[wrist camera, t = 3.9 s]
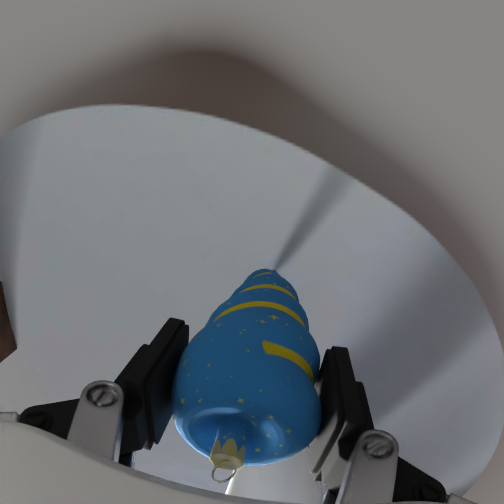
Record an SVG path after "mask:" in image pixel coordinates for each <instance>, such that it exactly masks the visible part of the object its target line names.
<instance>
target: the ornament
mask: <svg viewBox="0 0 504 504" xmlns="http://www.w3.org/2000/svg"><path fill="white" fill-rule="evenodd" d="M319 367H320V355H319V351H318V348H317V345H316V343H315V340H314V339H313V337H312V335H311V334H310V333H309V325H308V319H307V316H306V313H305V311H304V309H303V308H302V306H301V305H300V304H299V300H298V296H297V293H296V291H295V290H294V288H293V287H292V285H291V284H290V283H289V282H287V281H286V280H285V279H284V278H282V277H281V276H280V275H279V274H278V273H277V272H276V271H274V270H269V269H260V270H257V271H255V272H253V273H252V274H251V275H249V276H248V277H247V279H246V280H245V281H244V283H243V284H242V285H241V286H240V287H239V288H238V289H237V290H235V292H234V293H233V294H232V296H231V297H230V298H229V299H228V300H227V301H225V302H224V303H223V304H221V305H220V306H219V307H218V308H217V309H216V310H215V311H214V312H213V314H212V315H211V317H210V319H209V320H208V322H207V324H206V325H205V327H204V328H203V329H202V330H201V331H200V332H198V333H197V334H196V335H195V336H194V337H193V339H192V340H191V341H190V343H189V344H188V345H187V347H186V348H185V350H184V351H183V353H182V355H181V356H180V358H179V361H178V364H177V367H176V370H175V372H174V376H173V381H172V389H171V409H172V415H173V419H174V422H175V425H176V428H177V430H178V431H179V433H180V435H181V436H182V437H183V438H184V440H185V441H186V442H187V443H188V444H189V445H190V446H191V447H192V448H194V449H195V450H197V451H198V452H199V453H201V454H203V455H205V456H207V457H209V458H210V461H211V462H212V463H213V465H215V467H214V468H213V470H212V474H211V475H212V478H213V479H214V480H215V481H217V482H219V483H221V482H226V481H228V480H230V479H231V478H232V477H233V476H234V475H235V473H236V470H237V469H238V468H240V467H242V466H243V465H244V466H257V465H265V464H270V463H274V462H278V461H281V460H284V459H287V458H289V457H291V456H293V455H295V454H297V453H299V452H300V451H302V450H303V449H305V448H306V447H307V446H308V445H309V444H310V443H311V442H312V441H313V440H314V439H315V437H316V436H317V434H318V432H319V429H320V427H321V424H322V406H321V403H320V400H319V397H318V394H317V392H316V389H315V388H314V384H315V382H316V380H317V377H318V374H319ZM217 467H218V468H222V469H226V470H234V473H233V474H232V475H231V476H230V477H229V478H228V479H226V480H223V481H218V480H216V479H215V478H214V476H213V473H214V471H215V469H216V468H217Z"/></svg>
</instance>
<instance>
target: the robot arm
mask: <svg viewBox="0 0 504 504" xmlns="http://www.w3.org/2000/svg"><path fill="white" fill-rule="evenodd" d="M188 343H189V325H185V321H184V320H180V319H175V318H169V319H168V321H167V322H166V323H165V325H164V326H163V327H162V329H161V330H160V331H159V333H158V334H157V335H156V337H155V338H154V339H153V341H152V342H151V343H150V345H147V344H143V345H142V346H141V347H140V348H139V350H138V351H137V352H136V354H135V355H134V356H133V358H132V359H131V360H130V361H129V363H128V364H127V365H126V367H125V368H124V369H123V371H122V372H121V373H120V375H119V376H118V377H117V379H116V380H115V381H114V382H111V381H106V380H100V381H94V382H92V383H90V384H88V385H87V386H86V387H85V388H84V389H83V391H82V394H81V396H80V398H79V399H74V400H68V401H62V402H56V403H50V404H44V405H37V406H32V407H29V408H27V409H25V410H24V411H23V412H22V413H21V415H18V414H17V412H0V504H301V503H287V502H276V501H267V500H259V499H252V498H245V497H239V496H233V495H228V494H222V493H217V492H213V491H208V490H204V489H199V488H195V487H191V486H187V485H183V484H180V483H176V482H173V481H169V480H166V479H162V478H159V477H156V476H153V475H150V474H147V473H144V472H141V471H138V470H135V469H134V465H135V454H136V451H137V450H141V449H142V448H144V449H147V450H151V448H152V445H153V443H154V444H158V443H159V441H160V439H161V437H162V435H163V433H164V431H165V429H166V426H167V424H168V422H169V420H170V418H171V416H172V409H171V389H172V381H173V376H174V372H175V370H176V367H177V364H178V361H179V358H180V356H181V355H182V353H183V351H184V350H185V348H186V347H187V345H188ZM314 388H315V389H316V392H317V394H318V397H319V400H320V403H321V406H322V424H321V427H320V429H319V432H318V434H317V436H316V437H315V439H314V440H313V441H312V442H311V443H310V444H309V461H310V473H314V481H322V483H323V484H324V485H325V486H326V487H327V488H326V491H325V493H324V496H323V499H322V501H321V504H477V503H474V502H472V501H469V500H467V499H465V498H462V497H460V496H458V495H456V494H453V493H451V494H450V495H447V494H446V491H445V488H444V487H443V485H442V484H441V483H440V482H439V481H437V480H436V479H434V478H432V477H431V476H429V475H427V474H426V473H424V472H422V471H421V470H419V469H418V468H416V467H414V466H413V465H411V464H410V463H408V462H406V461H405V460H403V459H402V458H400V457H399V456H398V452H399V447H398V443H397V441H396V439H395V438H394V437H393V436H392V435H390V434H389V433H387V432H385V431H382V430H376V429H374V425H373V421H372V417H371V413H370V409H369V405H368V401H367V397H366V393H365V389H364V385H363V383H362V382H357V381H355V377H354V373H353V369H352V365H351V361H350V357H349V353H348V349H347V348H345V347H336V346H333V347H332V348H331V350H330V349H327V350H326V352H325V355H324V358H323V362H322V365H321V368H320V371H319V374H318V377H317V380H316V383H315V386H314Z"/></svg>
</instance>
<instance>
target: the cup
mask: <svg viewBox="0 0 504 504" xmlns="http://www.w3.org/2000/svg"><path fill="white" fill-rule="evenodd" d="M233 473H234V471H233ZM225 494H228V495H233V496H239V497H245V498H252V499H259V500H267V501H276V502H287V503H301V504H321V501H322V492H321V485H320V481H314V473H310V461H309V445H308V446H307V447H306V448H305V449H303V450H302V451H300V452H299V453H297V454H295V455H293V456H291V457H289V458H287V459H284V460H281V461H278V462H274V463H270V464H265V465H257V466H244V465H243V466H242V467H240V468H238V469H237V470H236V473H235V475H234V476H233V477H232V478H231V480H230V482H229V485H228V488H227V491H226V493H225Z"/></svg>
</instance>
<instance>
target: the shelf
mask: <svg viewBox="0 0 504 504" xmlns="http://www.w3.org/2000/svg"><path fill="white" fill-rule="evenodd" d="M16 349H17V347H16V344H15V340H14V337H13V333H12V329H11V326H10V322H9V318H8V313H7V309H6V304H5V300H4V295H3V290H2V284H1V282H0V362H2V361H3V360H4V359H5V358H6V357H8V356H9V355H10V354H11V353H13V352H14V351H15V350H16Z"/></svg>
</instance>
